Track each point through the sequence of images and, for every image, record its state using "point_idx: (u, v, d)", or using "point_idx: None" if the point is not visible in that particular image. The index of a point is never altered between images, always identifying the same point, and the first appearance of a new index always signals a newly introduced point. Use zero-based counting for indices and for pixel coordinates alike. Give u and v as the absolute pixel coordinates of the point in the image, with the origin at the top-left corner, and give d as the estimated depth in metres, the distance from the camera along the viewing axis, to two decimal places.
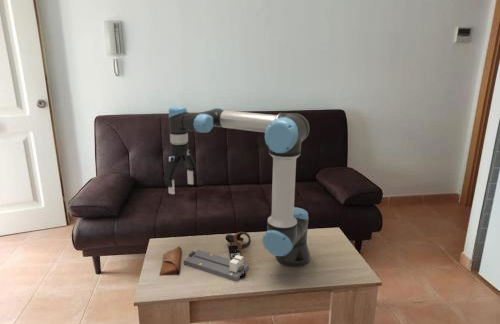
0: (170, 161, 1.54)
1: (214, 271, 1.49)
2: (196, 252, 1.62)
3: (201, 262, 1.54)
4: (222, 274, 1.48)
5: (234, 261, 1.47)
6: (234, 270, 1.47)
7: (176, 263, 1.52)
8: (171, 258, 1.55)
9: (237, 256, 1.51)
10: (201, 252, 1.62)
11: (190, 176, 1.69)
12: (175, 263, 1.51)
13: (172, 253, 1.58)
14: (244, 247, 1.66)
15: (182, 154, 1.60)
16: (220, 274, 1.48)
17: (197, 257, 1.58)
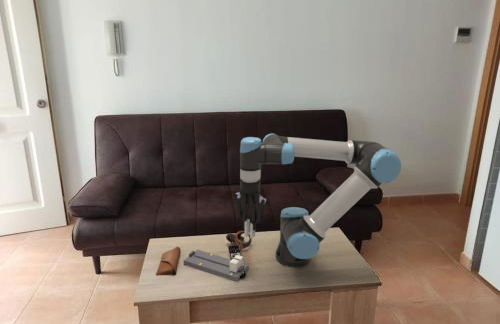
0: None
1: (214, 271, 1.49)
2: (196, 252, 1.62)
3: (201, 262, 1.54)
4: (222, 274, 1.48)
5: (234, 261, 1.47)
6: (234, 270, 1.47)
7: (173, 263, 1.51)
8: (168, 258, 1.55)
9: (237, 256, 1.51)
10: (201, 252, 1.62)
11: None
12: (172, 263, 1.51)
13: (170, 253, 1.58)
14: (245, 246, 1.67)
15: None
16: (220, 274, 1.48)
17: (197, 257, 1.58)
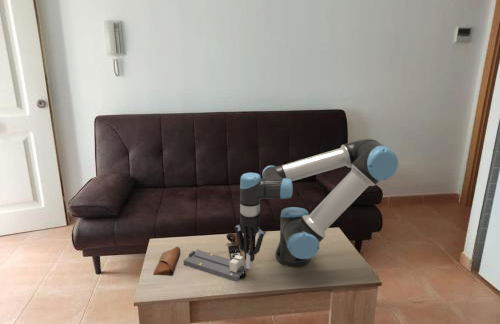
0: None
1: (214, 271, 1.49)
2: (196, 252, 1.62)
3: (201, 262, 1.54)
4: (222, 274, 1.48)
5: (234, 261, 1.47)
6: (234, 270, 1.47)
7: (170, 263, 1.51)
8: (166, 258, 1.55)
9: (237, 256, 1.51)
10: (201, 252, 1.62)
11: None
12: (169, 263, 1.51)
13: (169, 253, 1.58)
14: None
15: None
16: (220, 274, 1.48)
17: (197, 257, 1.58)
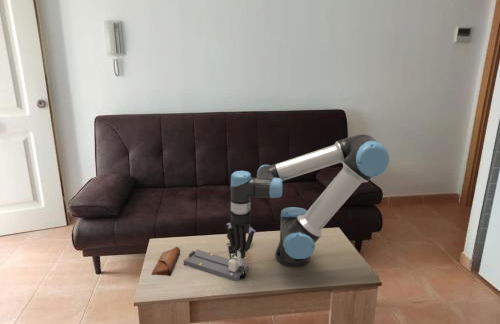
0: None
1: (214, 271, 1.49)
2: (196, 252, 1.62)
3: (201, 262, 1.54)
4: (222, 274, 1.48)
5: (233, 261, 1.48)
6: (233, 270, 1.47)
7: (169, 263, 1.51)
8: (165, 258, 1.55)
9: None
10: (201, 252, 1.62)
11: None
12: (168, 263, 1.51)
13: (168, 253, 1.58)
14: None
15: None
16: (220, 274, 1.48)
17: (197, 257, 1.58)
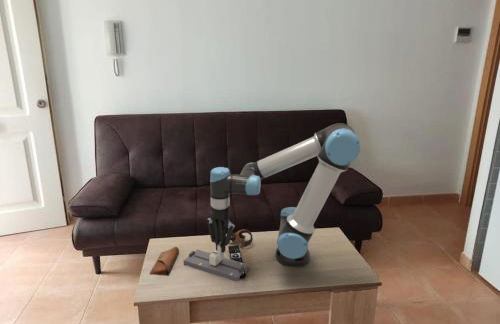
0: None
1: (214, 271, 1.49)
2: (196, 252, 1.62)
3: (201, 262, 1.54)
4: (222, 274, 1.48)
5: (214, 255, 1.52)
6: (214, 264, 1.51)
7: (167, 263, 1.51)
8: (164, 258, 1.55)
9: None
10: (201, 252, 1.62)
11: None
12: (166, 263, 1.51)
13: (167, 253, 1.59)
14: (246, 244, 1.69)
15: None
16: (220, 274, 1.48)
17: (197, 257, 1.58)
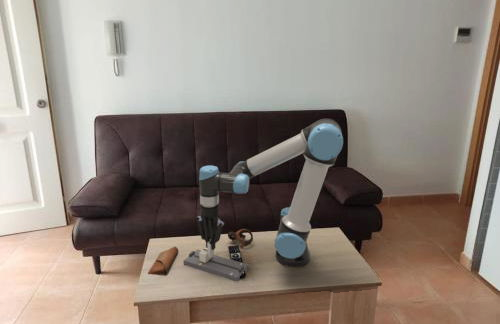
0: None
1: (214, 271, 1.49)
2: (196, 252, 1.62)
3: (201, 262, 1.54)
4: (222, 274, 1.48)
5: (204, 252, 1.54)
6: (204, 260, 1.53)
7: (165, 263, 1.51)
8: (162, 258, 1.55)
9: None
10: None
11: None
12: (164, 263, 1.51)
13: (166, 253, 1.59)
14: (247, 244, 1.69)
15: None
16: (220, 274, 1.48)
17: (197, 257, 1.58)
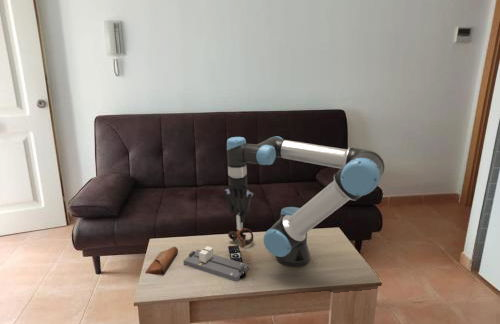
0: None
1: (214, 271, 1.49)
2: (196, 252, 1.62)
3: (201, 262, 1.54)
4: (222, 274, 1.48)
5: (203, 252, 1.54)
6: (203, 260, 1.53)
7: (163, 263, 1.51)
8: (161, 257, 1.55)
9: (207, 247, 1.57)
10: None
11: None
12: (162, 263, 1.51)
13: (165, 252, 1.59)
14: (247, 243, 1.70)
15: None
16: (220, 274, 1.48)
17: (197, 257, 1.58)
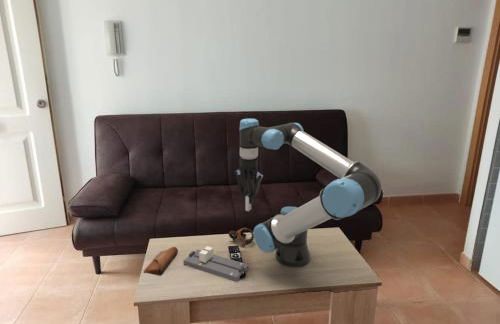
0: None
1: (214, 271, 1.49)
2: (196, 252, 1.62)
3: (201, 262, 1.54)
4: (222, 274, 1.48)
5: (203, 252, 1.54)
6: (203, 260, 1.53)
7: (161, 263, 1.51)
8: (160, 257, 1.55)
9: (207, 247, 1.57)
10: None
11: None
12: (160, 263, 1.51)
13: (164, 252, 1.59)
14: (248, 243, 1.70)
15: None
16: (220, 274, 1.48)
17: (197, 257, 1.58)
